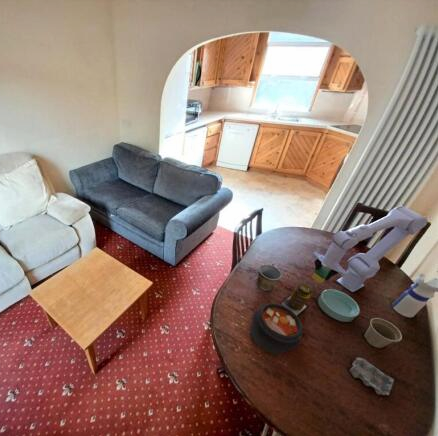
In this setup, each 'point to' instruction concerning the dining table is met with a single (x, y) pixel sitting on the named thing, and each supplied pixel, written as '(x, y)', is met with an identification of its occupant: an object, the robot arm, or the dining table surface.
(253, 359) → the dining table surface
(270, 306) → the casserole
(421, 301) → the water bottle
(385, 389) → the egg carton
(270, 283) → the ceramic cup
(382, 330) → the flower pot
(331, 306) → the bowl
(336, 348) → the dining table surface
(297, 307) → the condiment
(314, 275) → the sponge
